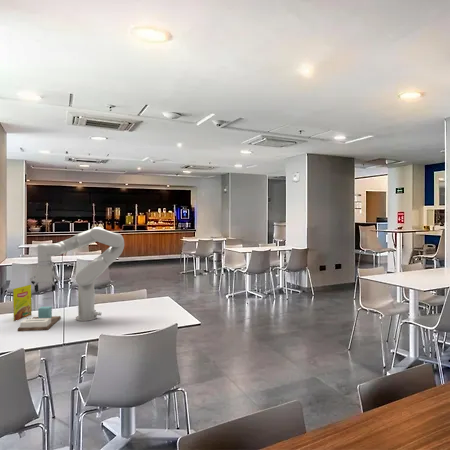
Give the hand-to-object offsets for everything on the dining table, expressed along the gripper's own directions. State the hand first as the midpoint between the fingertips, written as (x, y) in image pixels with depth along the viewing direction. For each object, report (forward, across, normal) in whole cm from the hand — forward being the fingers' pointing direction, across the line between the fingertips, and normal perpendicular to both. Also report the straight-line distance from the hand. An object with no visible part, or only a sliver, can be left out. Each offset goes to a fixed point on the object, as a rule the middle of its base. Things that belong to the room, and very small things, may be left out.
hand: (45, 291), depth 229 cm
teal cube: (+16, 0, 0) cm, 17 cm away
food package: (+18, +16, -8) cm, 26 cm away
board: (+18, 0, +8) cm, 20 cm away
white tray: (+17, 0, +15) cm, 22 cm away
